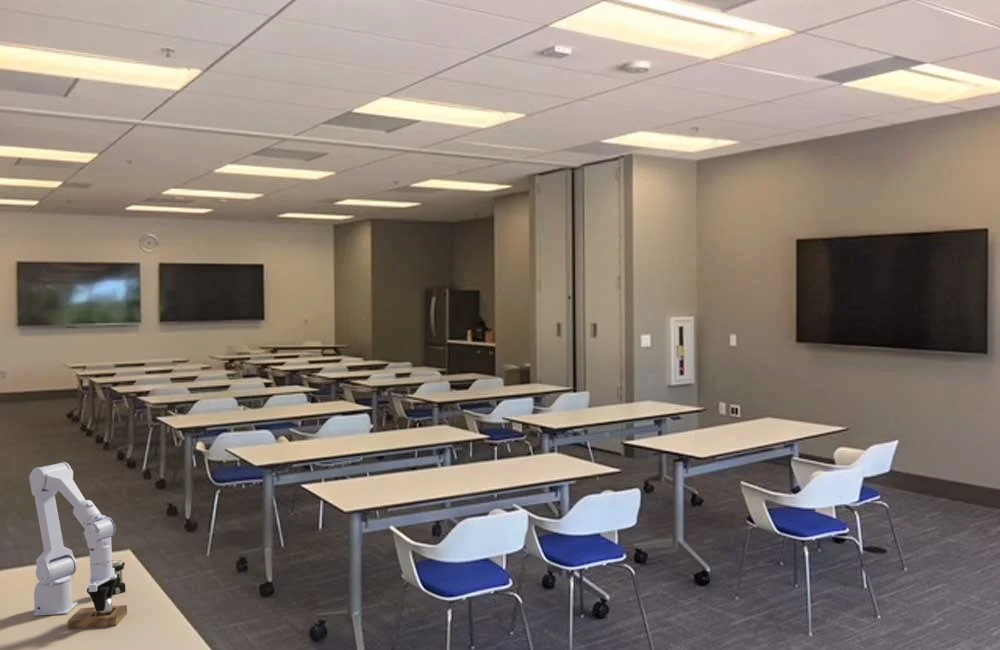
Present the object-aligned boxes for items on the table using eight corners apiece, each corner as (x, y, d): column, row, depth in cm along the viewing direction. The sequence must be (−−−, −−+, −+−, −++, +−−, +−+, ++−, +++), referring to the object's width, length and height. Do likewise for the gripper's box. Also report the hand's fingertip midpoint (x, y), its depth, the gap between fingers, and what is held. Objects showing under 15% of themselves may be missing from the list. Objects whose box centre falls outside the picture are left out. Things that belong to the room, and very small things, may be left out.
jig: (68, 628, 230) (67, 620, 230) (81, 616, 239) (80, 608, 239) (116, 625, 231) (115, 617, 231) (127, 613, 240) (126, 605, 240)
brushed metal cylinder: (95, 623, 233) (94, 602, 233) (100, 617, 237) (99, 597, 237) (110, 621, 234) (109, 601, 233) (114, 616, 237) (113, 596, 237)
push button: (104, 598, 253) (103, 566, 253) (101, 593, 258) (100, 562, 257) (127, 592, 257) (126, 561, 257) (124, 588, 262) (122, 557, 261)
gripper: (106, 568, 228) (108, 616, 228) (124, 552, 242) (126, 597, 243) (79, 570, 227) (82, 618, 227) (99, 554, 241) (101, 599, 242)
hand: (103, 607), depth 235 cm, fingers closed on brushed metal cylinder, 4 cm apart
